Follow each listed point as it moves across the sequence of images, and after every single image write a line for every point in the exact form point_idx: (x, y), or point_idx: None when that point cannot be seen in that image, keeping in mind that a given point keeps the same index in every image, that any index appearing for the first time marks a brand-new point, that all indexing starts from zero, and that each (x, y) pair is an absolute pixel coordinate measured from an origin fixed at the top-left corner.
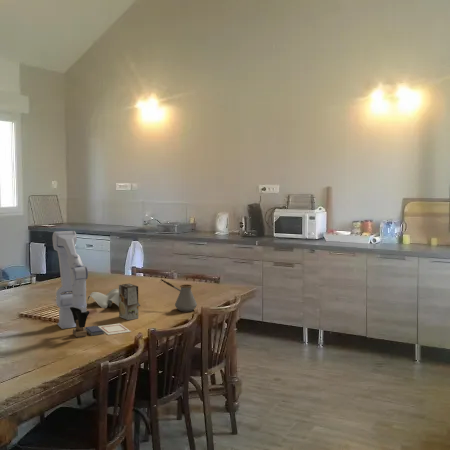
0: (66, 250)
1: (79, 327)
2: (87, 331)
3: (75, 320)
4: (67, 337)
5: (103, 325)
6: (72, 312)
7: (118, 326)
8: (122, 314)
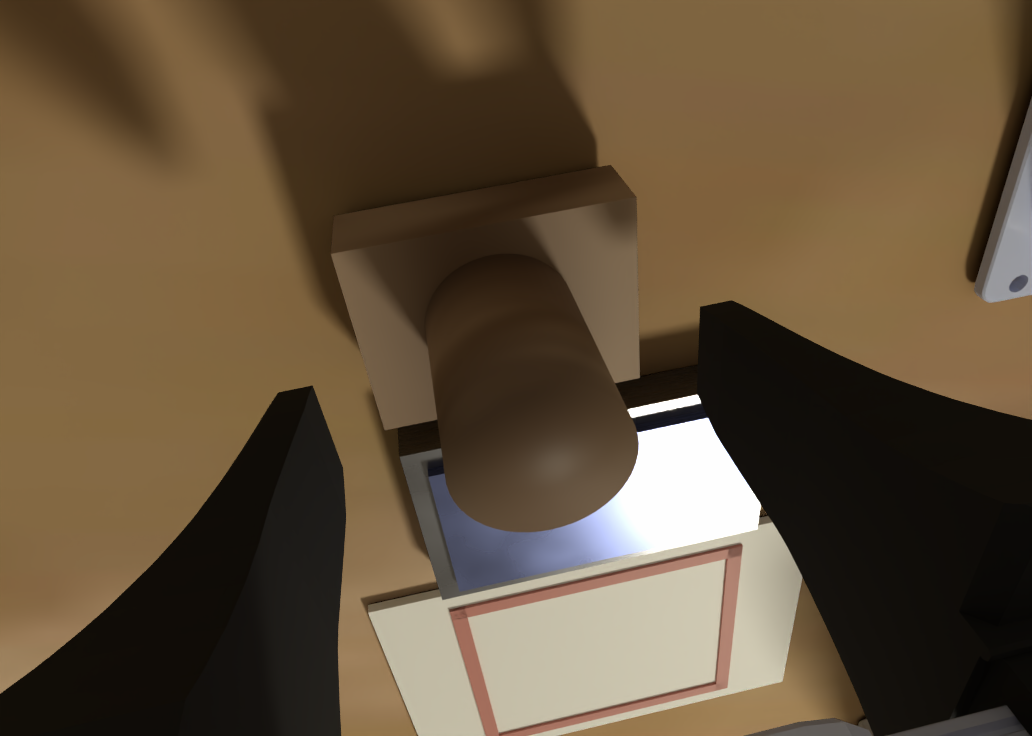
0: None
1: (433, 363)
2: None
3: (732, 354)
4: (408, 26)
5: None
6: (892, 443)
7: (671, 678)
8: None
